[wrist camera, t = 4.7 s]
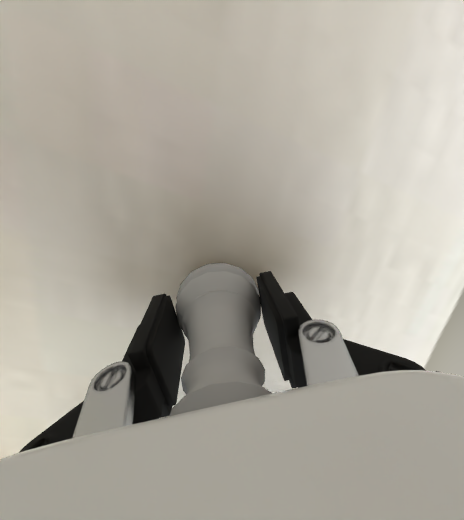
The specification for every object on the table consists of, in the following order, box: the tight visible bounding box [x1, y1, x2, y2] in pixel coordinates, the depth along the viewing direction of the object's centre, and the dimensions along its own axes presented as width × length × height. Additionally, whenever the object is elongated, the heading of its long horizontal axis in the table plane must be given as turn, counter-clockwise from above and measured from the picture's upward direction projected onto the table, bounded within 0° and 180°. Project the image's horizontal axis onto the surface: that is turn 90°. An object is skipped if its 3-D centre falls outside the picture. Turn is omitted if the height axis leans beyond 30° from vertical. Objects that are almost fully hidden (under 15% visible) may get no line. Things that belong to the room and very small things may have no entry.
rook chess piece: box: [169, 263, 272, 416], centre depth 9 cm, size 4×4×8 cm
